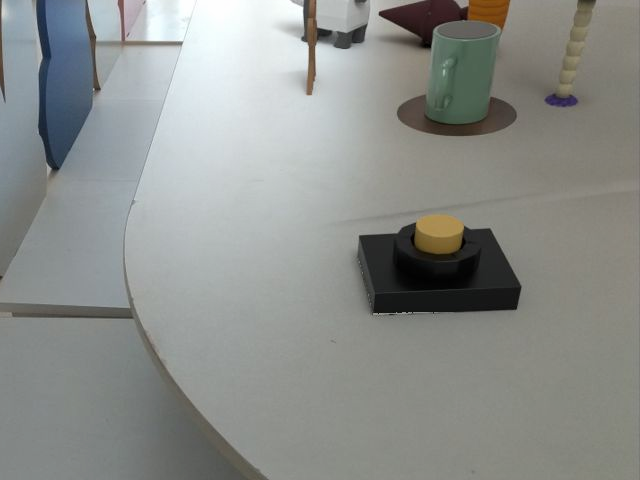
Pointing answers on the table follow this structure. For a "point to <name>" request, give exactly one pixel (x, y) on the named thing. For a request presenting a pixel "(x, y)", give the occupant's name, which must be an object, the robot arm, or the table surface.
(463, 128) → the disc
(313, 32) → the gingerbread man figurine
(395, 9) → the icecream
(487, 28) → the mug
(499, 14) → the carrot
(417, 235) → the bell button
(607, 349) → the table surface
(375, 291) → the block
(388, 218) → the table surface
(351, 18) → the giant panda
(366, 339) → the table surface
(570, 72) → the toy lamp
